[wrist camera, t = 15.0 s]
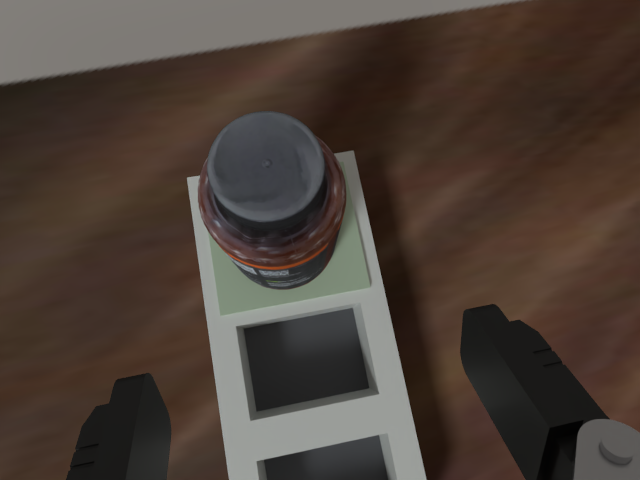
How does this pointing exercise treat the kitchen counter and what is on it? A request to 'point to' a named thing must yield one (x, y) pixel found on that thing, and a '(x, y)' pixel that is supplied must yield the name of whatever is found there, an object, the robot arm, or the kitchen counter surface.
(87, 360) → the kitchen counter surface
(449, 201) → the kitchen counter surface
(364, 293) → the board
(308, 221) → the supplement bottle
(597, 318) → the kitchen counter surface
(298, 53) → the kitchen counter surface
